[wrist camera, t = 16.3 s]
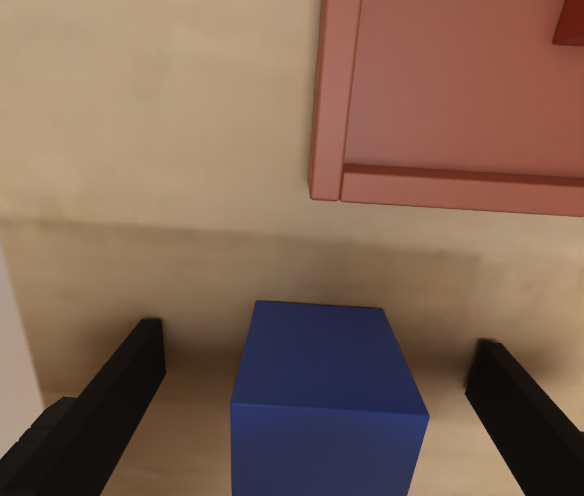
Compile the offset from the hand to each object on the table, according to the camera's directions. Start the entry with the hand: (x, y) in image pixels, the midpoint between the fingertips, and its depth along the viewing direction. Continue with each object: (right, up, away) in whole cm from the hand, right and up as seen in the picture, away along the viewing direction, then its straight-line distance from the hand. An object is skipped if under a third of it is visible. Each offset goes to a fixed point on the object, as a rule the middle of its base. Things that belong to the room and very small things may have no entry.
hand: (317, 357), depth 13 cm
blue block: (0, 0, 0) cm, 0 cm away
